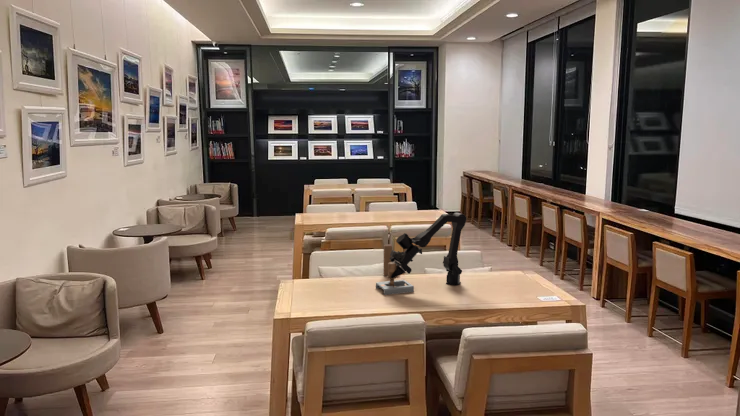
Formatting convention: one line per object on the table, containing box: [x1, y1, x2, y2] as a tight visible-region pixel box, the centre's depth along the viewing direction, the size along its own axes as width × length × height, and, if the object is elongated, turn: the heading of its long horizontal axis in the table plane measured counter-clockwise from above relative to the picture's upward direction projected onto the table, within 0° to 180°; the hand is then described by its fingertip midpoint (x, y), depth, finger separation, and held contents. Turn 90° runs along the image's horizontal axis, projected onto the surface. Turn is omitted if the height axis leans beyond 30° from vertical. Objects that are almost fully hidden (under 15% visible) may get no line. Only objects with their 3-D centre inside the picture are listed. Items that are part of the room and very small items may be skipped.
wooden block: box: [383, 243, 393, 277], centre depth 316 cm, size 9×4×18 cm, turn 95°
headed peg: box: [387, 262, 397, 287], centre depth 286 cm, size 6×6×14 cm
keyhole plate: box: [375, 279, 415, 296], centre depth 288 cm, size 16×13×3 cm
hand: (389, 276), depth 286 cm, fingers closed on headed peg, 4 cm apart
